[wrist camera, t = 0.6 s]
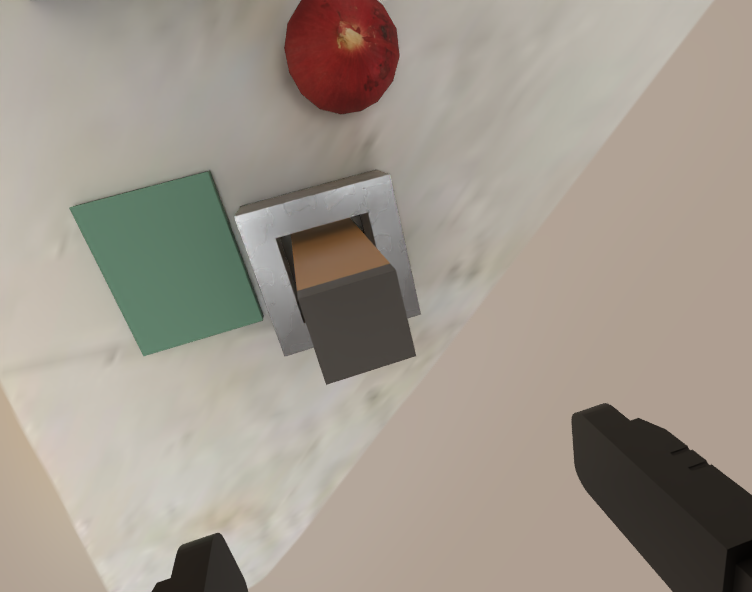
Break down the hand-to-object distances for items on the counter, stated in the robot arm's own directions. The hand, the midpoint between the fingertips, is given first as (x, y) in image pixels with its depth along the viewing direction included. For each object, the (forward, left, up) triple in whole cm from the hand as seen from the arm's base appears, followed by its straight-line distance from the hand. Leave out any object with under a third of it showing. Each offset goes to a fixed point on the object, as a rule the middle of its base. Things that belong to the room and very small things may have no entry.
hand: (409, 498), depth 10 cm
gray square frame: (0, 0, -22) cm, 22 cm away
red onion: (-11, +4, -22) cm, 25 cm away
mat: (-2, -9, -22) cm, 24 cm away
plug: (0, 0, -22) cm, 22 cm away
